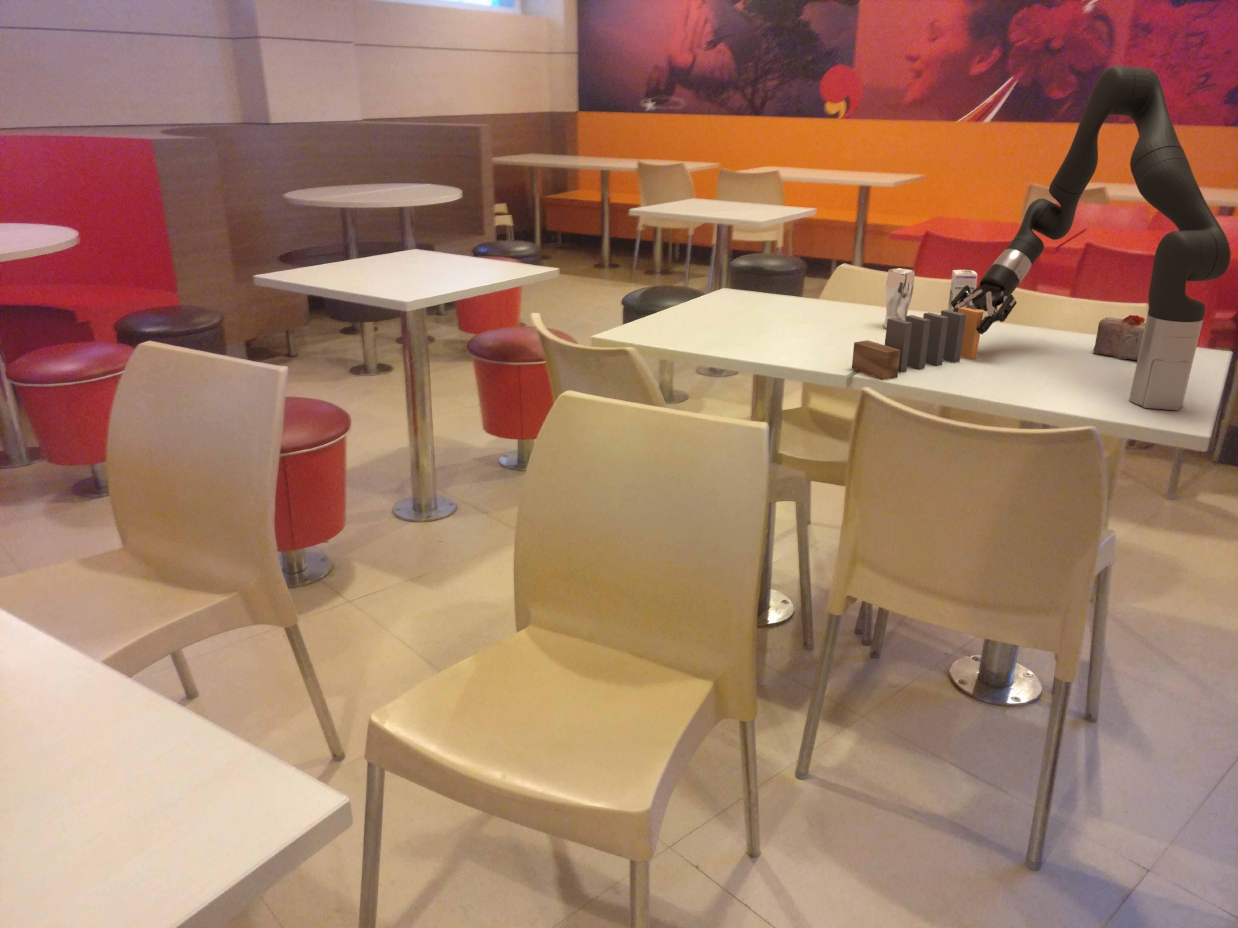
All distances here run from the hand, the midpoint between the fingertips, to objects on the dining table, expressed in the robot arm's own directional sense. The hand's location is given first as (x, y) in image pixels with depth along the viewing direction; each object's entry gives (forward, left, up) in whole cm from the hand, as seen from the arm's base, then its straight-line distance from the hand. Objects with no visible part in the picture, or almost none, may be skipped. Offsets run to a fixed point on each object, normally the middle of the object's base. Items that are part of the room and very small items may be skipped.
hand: (964, 328), depth 207 cm
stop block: (-19, +19, -7) cm, 28 cm away
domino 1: (-15, +15, -7) cm, 22 cm away
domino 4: (-3, +3, -7) cm, 8 cm away
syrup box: (+32, -1, -7) cm, 33 cm away
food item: (+11, -37, -7) cm, 39 cm away
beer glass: (+26, +15, -7) cm, 31 cm away
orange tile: (+1, -1, -7) cm, 7 cm away
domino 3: (-7, +7, -7) cm, 12 cm away
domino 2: (-11, +11, -7) cm, 17 cm away
